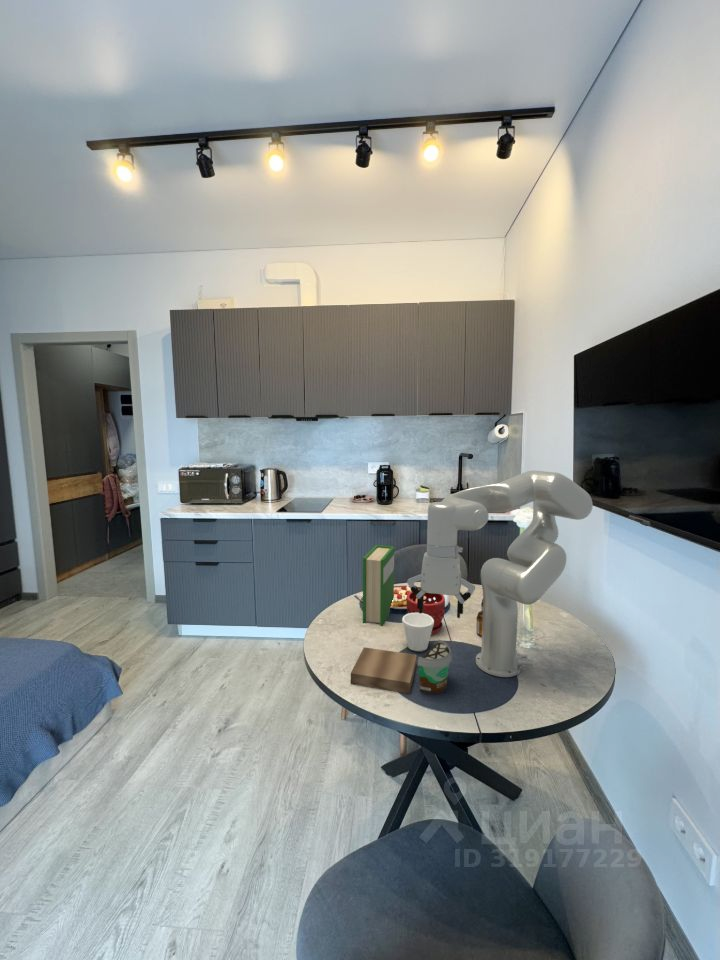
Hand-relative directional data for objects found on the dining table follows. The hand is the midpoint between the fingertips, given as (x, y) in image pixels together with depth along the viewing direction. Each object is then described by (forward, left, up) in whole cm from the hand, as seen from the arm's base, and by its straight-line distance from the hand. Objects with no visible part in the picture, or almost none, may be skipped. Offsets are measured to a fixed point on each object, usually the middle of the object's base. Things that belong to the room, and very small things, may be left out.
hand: (439, 613), depth 106 cm
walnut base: (+15, -2, -20) cm, 25 cm away
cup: (+8, -19, -21) cm, 29 cm away
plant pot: (+7, -32, -21) cm, 39 cm away
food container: (0, 0, -21) cm, 21 cm away
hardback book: (+25, -39, -21) cm, 51 cm away
